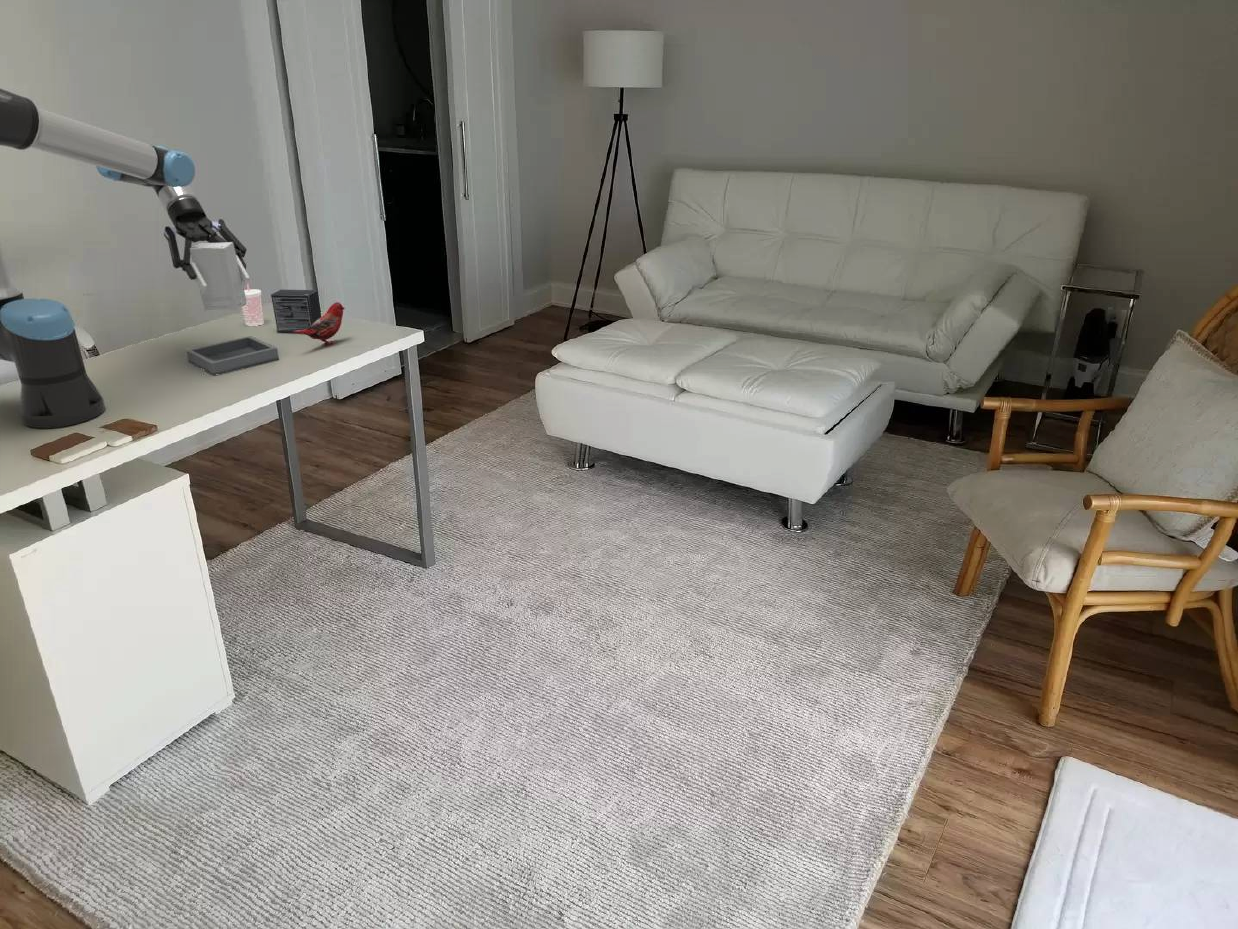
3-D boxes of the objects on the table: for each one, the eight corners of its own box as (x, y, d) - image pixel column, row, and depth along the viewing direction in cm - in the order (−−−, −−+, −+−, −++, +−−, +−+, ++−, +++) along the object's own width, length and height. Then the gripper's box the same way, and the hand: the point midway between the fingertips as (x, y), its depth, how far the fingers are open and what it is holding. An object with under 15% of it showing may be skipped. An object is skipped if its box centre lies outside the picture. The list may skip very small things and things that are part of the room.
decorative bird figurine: (352, 338, 234) (347, 300, 229) (299, 357, 220) (293, 317, 216) (344, 336, 235) (339, 299, 231) (291, 355, 221) (284, 315, 217)
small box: (324, 327, 243) (318, 289, 239) (314, 334, 237) (308, 295, 233) (286, 326, 244) (280, 288, 239) (276, 333, 238) (269, 294, 234)
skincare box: (247, 304, 215) (236, 241, 208) (236, 311, 209) (225, 247, 203) (212, 303, 215) (200, 241, 208) (201, 310, 209) (188, 246, 203)
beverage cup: (238, 325, 244) (228, 274, 238) (255, 319, 249) (246, 269, 243) (254, 328, 242) (244, 277, 236) (271, 322, 247) (262, 272, 241)
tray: (214, 375, 208) (211, 363, 206) (188, 362, 217) (186, 350, 215) (279, 359, 218) (277, 347, 217) (252, 347, 227) (250, 335, 226)
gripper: (225, 210, 221) (267, 285, 217) (132, 223, 206) (175, 303, 203) (231, 190, 215) (274, 267, 212) (135, 202, 201) (180, 284, 198)
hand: (225, 285), depth 207 cm, fingers closed on skincare box, 9 cm apart
